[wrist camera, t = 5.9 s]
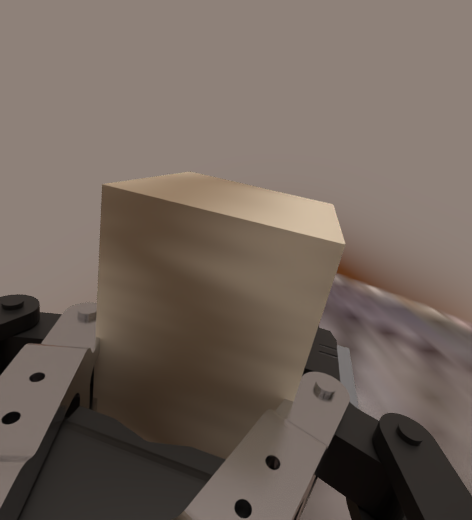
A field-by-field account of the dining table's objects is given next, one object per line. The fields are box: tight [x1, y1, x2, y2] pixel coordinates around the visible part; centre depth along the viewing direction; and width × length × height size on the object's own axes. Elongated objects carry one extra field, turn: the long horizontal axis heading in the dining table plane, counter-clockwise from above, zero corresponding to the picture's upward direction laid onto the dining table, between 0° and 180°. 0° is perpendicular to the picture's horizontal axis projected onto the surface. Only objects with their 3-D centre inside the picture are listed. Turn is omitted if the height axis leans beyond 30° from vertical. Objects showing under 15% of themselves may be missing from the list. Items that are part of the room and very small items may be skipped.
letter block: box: [93, 172, 345, 459], centre depth 11 cm, size 5×5×12 cm
